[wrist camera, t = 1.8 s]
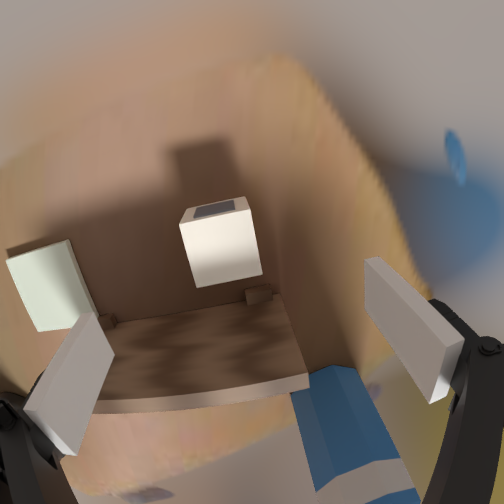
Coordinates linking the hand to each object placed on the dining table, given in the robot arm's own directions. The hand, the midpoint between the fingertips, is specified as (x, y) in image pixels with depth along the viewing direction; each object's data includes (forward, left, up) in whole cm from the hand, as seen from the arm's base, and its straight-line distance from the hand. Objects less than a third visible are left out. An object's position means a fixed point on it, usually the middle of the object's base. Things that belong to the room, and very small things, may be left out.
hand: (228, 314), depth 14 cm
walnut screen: (-6, -8, -13) cm, 17 cm away
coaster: (-19, -2, -13) cm, 24 cm away
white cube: (0, 0, -14) cm, 14 cm away
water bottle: (+8, -23, -14) cm, 28 cm away
